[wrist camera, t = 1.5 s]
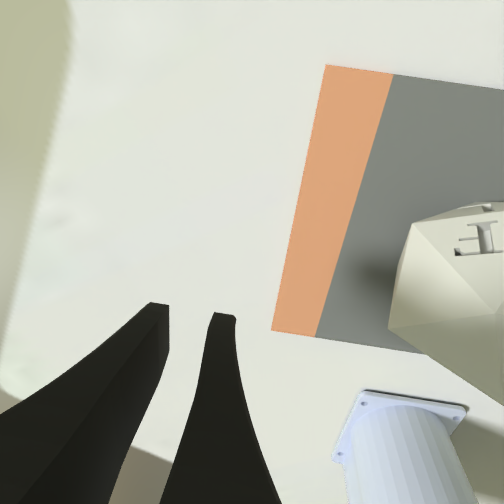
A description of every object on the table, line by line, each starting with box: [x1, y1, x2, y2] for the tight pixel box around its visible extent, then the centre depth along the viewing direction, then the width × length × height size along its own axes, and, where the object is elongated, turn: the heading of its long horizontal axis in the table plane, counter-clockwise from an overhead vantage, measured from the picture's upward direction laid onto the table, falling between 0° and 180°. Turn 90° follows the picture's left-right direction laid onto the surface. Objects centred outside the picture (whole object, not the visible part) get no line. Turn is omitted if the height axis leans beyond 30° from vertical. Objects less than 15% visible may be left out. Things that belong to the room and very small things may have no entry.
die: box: [388, 202, 504, 406], centre depth 15 cm, size 8×9×10 cm
